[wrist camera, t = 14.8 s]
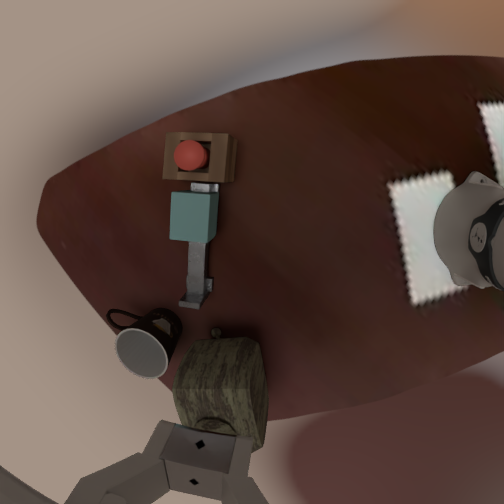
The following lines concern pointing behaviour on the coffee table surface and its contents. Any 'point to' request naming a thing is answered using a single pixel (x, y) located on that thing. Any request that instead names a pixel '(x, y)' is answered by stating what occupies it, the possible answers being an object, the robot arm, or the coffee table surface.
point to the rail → (198, 264)
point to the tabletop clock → (223, 388)
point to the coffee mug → (147, 341)
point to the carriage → (193, 216)
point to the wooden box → (220, 157)
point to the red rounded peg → (191, 155)
